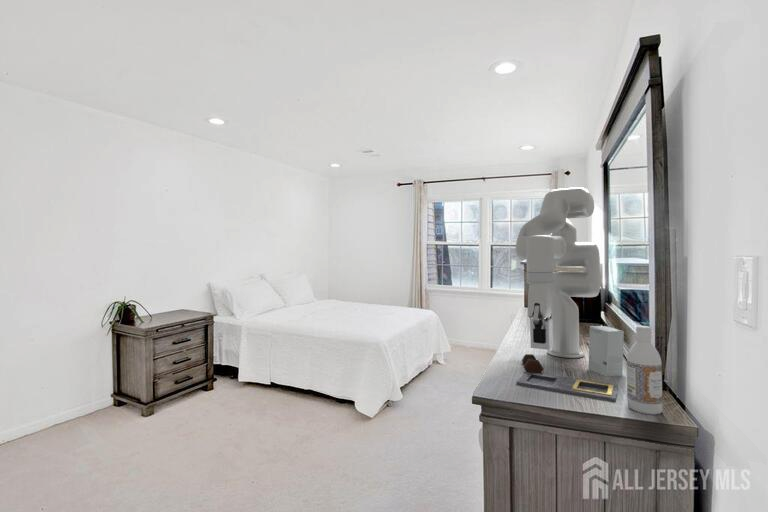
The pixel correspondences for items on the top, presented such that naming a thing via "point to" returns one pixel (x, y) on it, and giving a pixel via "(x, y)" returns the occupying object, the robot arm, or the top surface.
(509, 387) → the top surface
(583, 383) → the grey slotted board
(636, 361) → the bath foam
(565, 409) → the top surface
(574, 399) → the top surface
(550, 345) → the brushed steel block
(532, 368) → the bolt
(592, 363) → the skincare box
